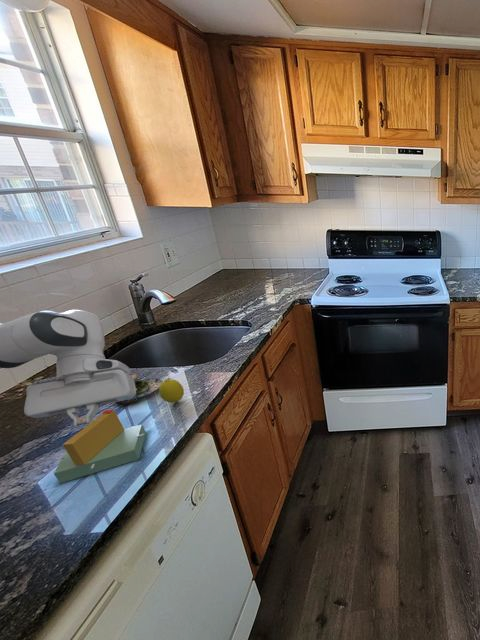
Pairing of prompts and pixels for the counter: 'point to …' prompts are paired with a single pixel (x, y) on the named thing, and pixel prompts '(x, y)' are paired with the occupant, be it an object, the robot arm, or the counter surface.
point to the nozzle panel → (105, 455)
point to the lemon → (171, 391)
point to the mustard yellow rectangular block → (93, 437)
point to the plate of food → (143, 388)
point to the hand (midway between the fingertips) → (83, 425)
